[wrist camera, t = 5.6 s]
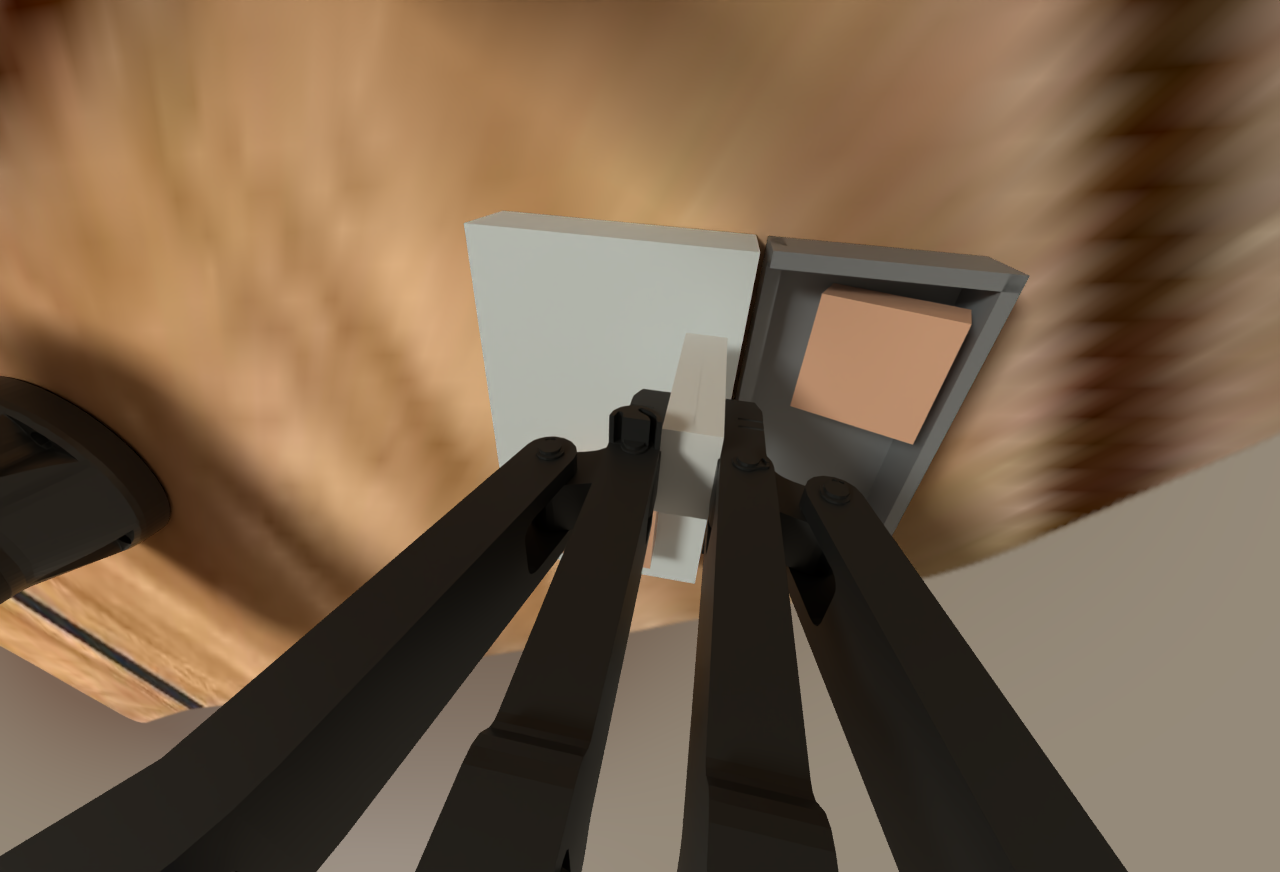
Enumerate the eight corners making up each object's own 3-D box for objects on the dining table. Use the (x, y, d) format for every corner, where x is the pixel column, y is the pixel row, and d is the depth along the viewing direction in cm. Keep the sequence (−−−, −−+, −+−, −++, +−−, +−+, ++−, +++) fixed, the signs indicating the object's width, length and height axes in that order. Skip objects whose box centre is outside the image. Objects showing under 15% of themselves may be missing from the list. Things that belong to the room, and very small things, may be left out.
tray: (709, 523, 28) (707, 560, 25) (768, 235, 19) (773, 250, 16) (852, 546, 27) (864, 588, 24) (988, 256, 18) (1029, 275, 15)
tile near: (912, 444, 18) (916, 423, 20) (971, 324, 15) (971, 309, 17) (790, 405, 20) (802, 389, 22) (822, 293, 17) (833, 282, 19)
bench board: (532, 511, 30) (511, 550, 27) (502, 210, 20) (463, 223, 17) (698, 538, 29) (694, 583, 26) (755, 234, 19) (760, 252, 16)
